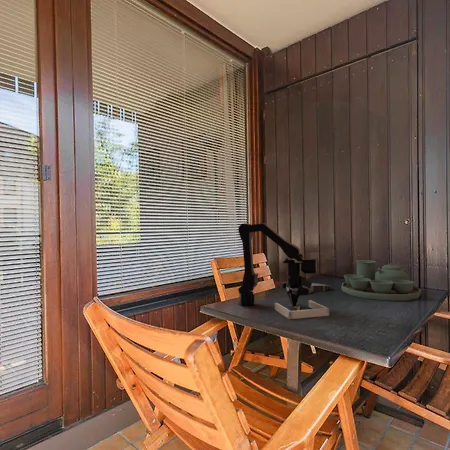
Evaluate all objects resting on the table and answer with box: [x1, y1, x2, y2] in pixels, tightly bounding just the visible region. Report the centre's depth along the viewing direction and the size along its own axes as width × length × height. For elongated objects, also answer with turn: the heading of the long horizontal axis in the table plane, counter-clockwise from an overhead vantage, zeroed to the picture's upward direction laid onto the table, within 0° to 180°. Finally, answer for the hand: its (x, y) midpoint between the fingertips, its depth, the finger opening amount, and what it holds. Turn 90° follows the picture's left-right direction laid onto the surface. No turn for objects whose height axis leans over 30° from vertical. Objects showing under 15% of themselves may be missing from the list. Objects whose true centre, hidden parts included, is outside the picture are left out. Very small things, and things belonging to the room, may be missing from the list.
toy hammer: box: [274, 281, 332, 293], centre depth 186 cm, size 24×4×30 cm
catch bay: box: [274, 299, 330, 320], centre depth 136 cm, size 18×15×3 cm
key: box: [293, 305, 301, 310], centre depth 135 cm, size 7×12×2 cm, turn 1°
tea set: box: [341, 259, 422, 302], centre depth 173 cm, size 40×40×16 cm
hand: (294, 306), depth 142 cm, fingers closed
